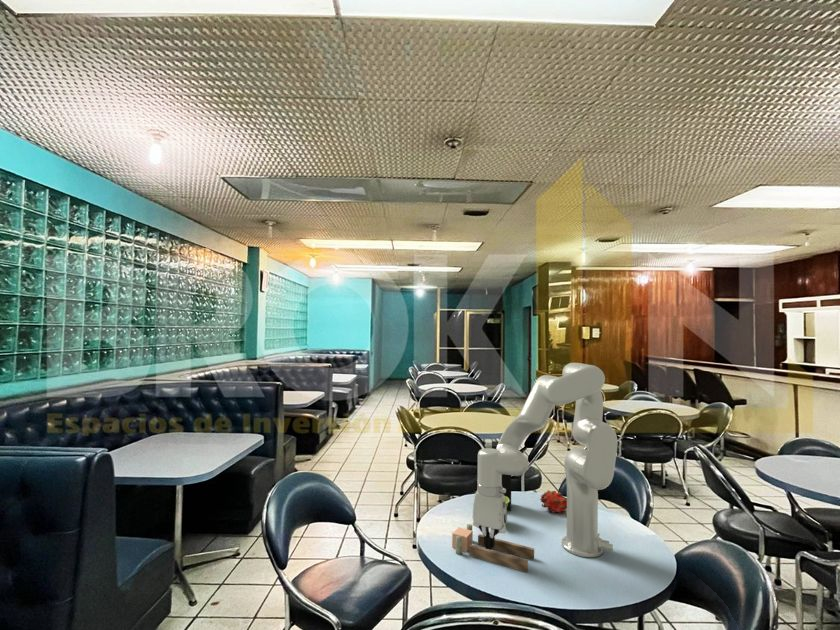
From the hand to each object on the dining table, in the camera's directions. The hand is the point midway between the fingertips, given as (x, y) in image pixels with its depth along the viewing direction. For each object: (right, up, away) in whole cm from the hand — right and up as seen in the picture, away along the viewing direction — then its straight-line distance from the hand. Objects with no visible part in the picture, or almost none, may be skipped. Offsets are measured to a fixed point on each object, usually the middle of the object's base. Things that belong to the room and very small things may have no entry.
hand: (489, 548), depth 133 cm
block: (-8, -2, +4) cm, 10 cm away
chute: (+1, -2, -1) cm, 2 cm away
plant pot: (+6, -3, +21) cm, 22 cm away
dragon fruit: (+31, -4, +33) cm, 46 cm away
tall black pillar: (+11, -3, +36) cm, 38 cm away
